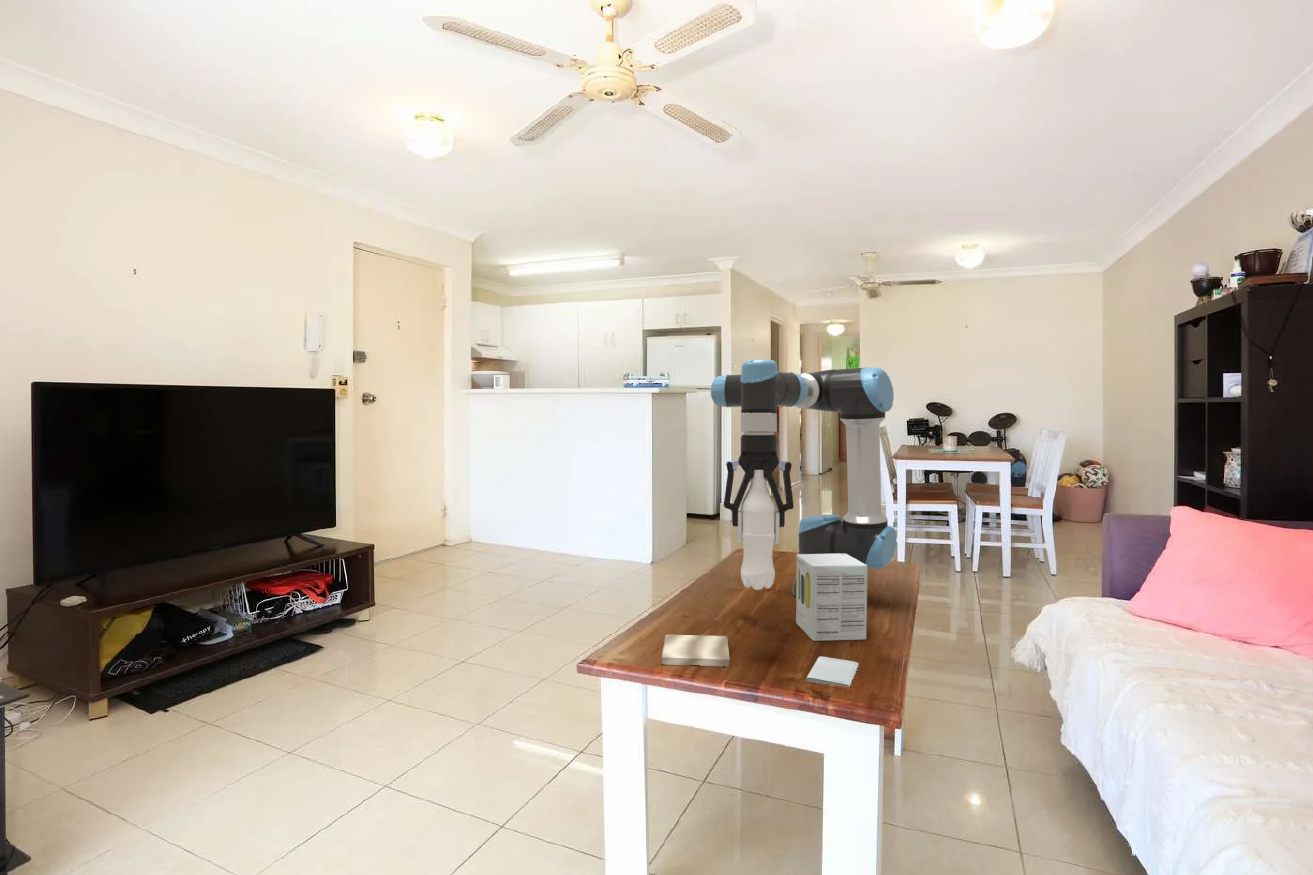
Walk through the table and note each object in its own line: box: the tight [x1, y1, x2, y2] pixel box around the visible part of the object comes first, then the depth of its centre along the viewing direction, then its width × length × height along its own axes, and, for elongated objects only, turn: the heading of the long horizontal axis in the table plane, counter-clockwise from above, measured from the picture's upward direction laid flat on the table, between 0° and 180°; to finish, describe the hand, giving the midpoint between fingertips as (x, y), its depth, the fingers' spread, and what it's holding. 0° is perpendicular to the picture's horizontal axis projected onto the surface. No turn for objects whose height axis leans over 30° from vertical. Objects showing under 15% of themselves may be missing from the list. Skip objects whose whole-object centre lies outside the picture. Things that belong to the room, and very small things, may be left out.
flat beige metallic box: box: [661, 634, 731, 668], centre depth 139 cm, size 14×14×2 cm
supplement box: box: [795, 553, 868, 642], centre depth 153 cm, size 13×13×18 cm
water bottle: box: [740, 470, 776, 591], centre depth 135 cm, size 7×7×25 cm
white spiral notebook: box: [805, 655, 860, 687], centre depth 128 cm, size 2×8×12 cm
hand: (758, 541), depth 135 cm, fingers closed on water bottle, 7 cm apart
